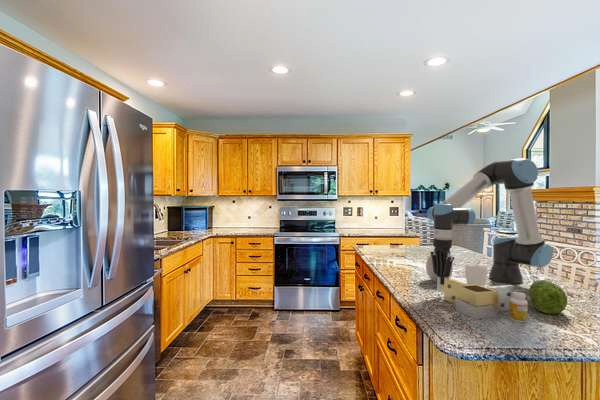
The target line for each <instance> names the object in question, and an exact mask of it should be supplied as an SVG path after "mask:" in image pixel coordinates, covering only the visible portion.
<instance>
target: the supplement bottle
mask: <svg viewBox="0 0 600 400" xmlns="http://www.w3.org/2000/svg"><path fill="white" fill-rule="evenodd" d="M512 297H513V298H511V299H510V310H509V311H508V312H509V313H508V314H509V315H508V316H509V319H510V320H511V321H513V322H516V323H527V322H528V309H529V308H528V307H529V306H528V304H529V303H528V300H526V293H525V292H520V291H515V292H512Z"/></svg>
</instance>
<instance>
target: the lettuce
mask: <svg viewBox="0 0 600 400" xmlns="http://www.w3.org/2000/svg"><path fill="white" fill-rule="evenodd" d="M528 296H529V298H530V302H531V303H532V305H533V307H534V308H536V309H537V311H539V312H541V313H543V314H547V315H558V314H560V313H562V312H563V311H564V310H566V307H567V306H568V296H567V294H566V292H565V290H563V289H562V288H561V287H560V286H559V285H556V284H555V283H553V282H552V281H549V280H545V279H542V280H541V279H539V280H538V279H537V280H536V281H534V282H532V284H530V287H529V291H528Z"/></svg>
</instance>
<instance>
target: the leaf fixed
mask: <svg viewBox="0 0 600 400" xmlns="http://www.w3.org/2000/svg"><path fill="white" fill-rule="evenodd" d="M486 287H487V288H490V289H492V290H495V291H498V304H489V305H479V306H475V305H473V304H471V303H469V302H466V301H464V300H462V299H459V298H456V305H455V306H454V307H455V308H454V309H455V310H456V311H458V312H460V313H462V314H464V315H465V316H468V317H470V318H471V319H474V320H481V319H490V318H491V319H492V318H497V317H498V314H499V313H501V312H509V310H510V299H511V298H513V297H512V292H516V286H515V285H512V284H507V285H506V284H503V285H492V286H486ZM498 312H499V313H498Z"/></svg>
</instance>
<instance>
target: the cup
mask: <svg viewBox="0 0 600 400" xmlns="http://www.w3.org/2000/svg"><path fill="white" fill-rule="evenodd" d="M464 271H465V272H464V273H465V281H466V284H468V285H472V284H478V285H481V286H484V287H486V283H487V282H486V281H487V275H488V267H487V265H483V264H478V263H466V264H465V270H464Z"/></svg>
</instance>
